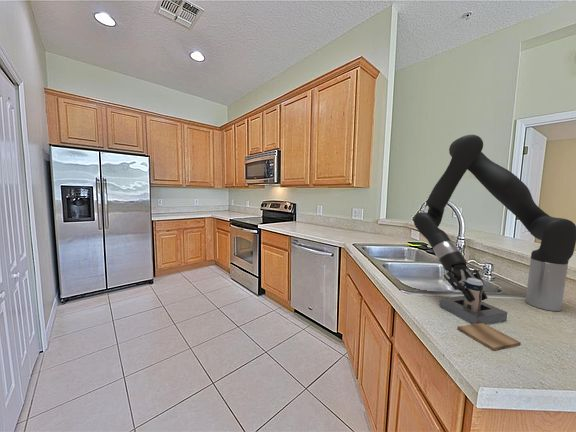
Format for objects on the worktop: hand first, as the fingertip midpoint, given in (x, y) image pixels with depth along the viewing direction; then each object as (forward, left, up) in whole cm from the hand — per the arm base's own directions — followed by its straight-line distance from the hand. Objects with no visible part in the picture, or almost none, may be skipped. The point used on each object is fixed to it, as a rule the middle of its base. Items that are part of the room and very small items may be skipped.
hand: (478, 300), depth 79 cm
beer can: (0, -2, -6) cm, 6 cm away
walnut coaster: (+9, +10, -6) cm, 14 cm away
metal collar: (0, -2, -6) cm, 6 cm away
